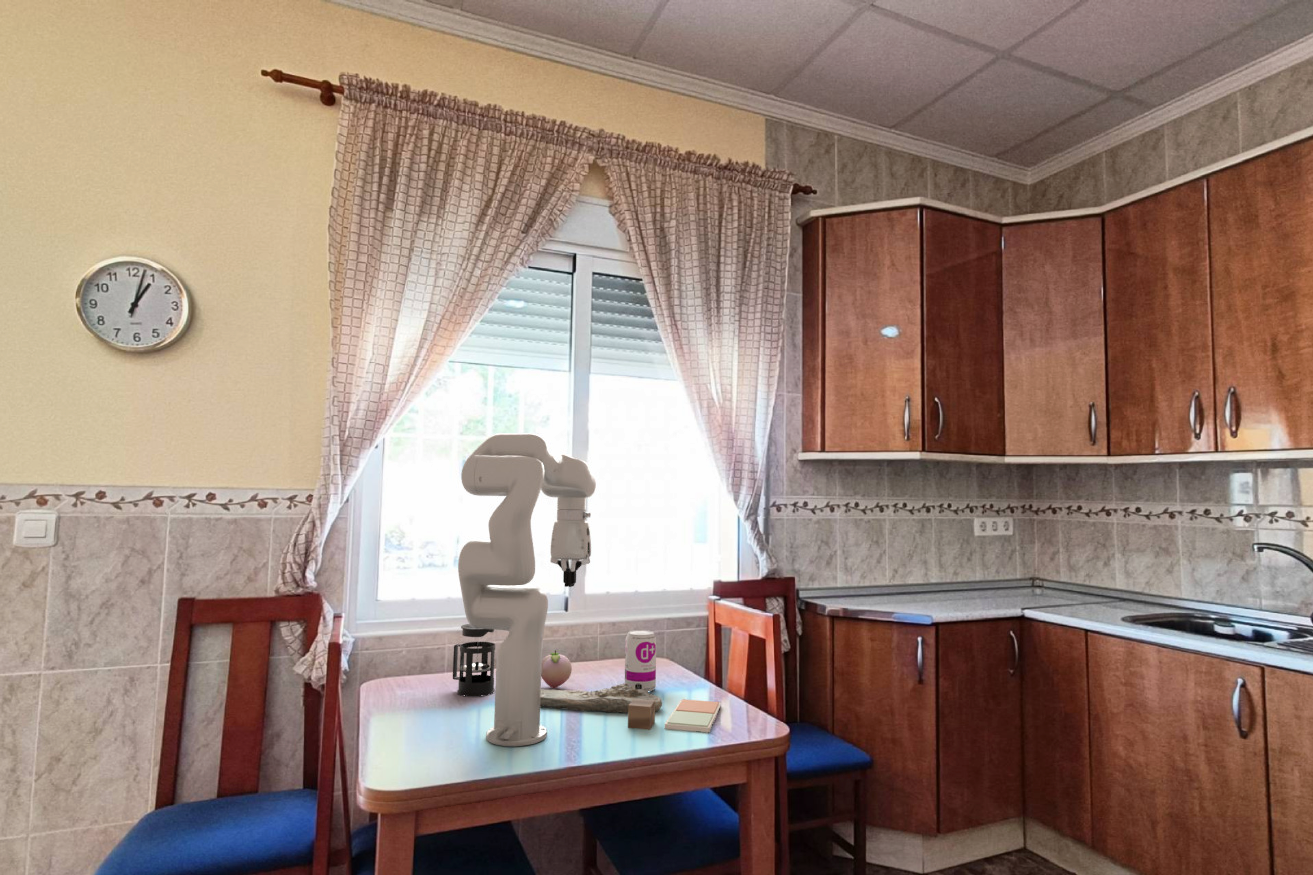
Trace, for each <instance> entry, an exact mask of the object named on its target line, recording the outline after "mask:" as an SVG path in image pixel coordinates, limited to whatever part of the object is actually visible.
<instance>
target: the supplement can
mask: <svg viewBox="0 0 1313 875" xmlns="http://www.w3.org/2000/svg"><path fill="white" fill-rule="evenodd" d="M624 644H625V647H624V648H625V650H624V651H625V653H624V654H625V655H624V656H625V657H624V660H625V661H624V663H625V664H624V684H626V683H627V685H628V687H635V688H636V689H637V690H639V689H641V690H645V691H646V692H648V691H652V690H653V691H654V690H655V689H656V688H657V686H656V683H657V682H656V681H657V680H656V677H657V675H656V674H657V637H656V635H655V632H654V631H651V630H648V629H647V630H644V629H643V630H642V629H638V630H637V629H636V630H631V631H628V632H627V635H626V637H625V643H624ZM653 691H652V692H653Z"/></svg>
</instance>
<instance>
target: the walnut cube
mask: <svg viewBox="0 0 1313 875" xmlns="http://www.w3.org/2000/svg"><path fill="white" fill-rule="evenodd" d="M627 716H628V717H627V728H628V729H637V730H648V731H649V730H650V731H651V729H652V727H653V726H654V725H655V724H656V721H655V720H656V711H655V701H652V700H639V699H634V700H633V701H632V702H631V703H630V704H629V705H628V713H627Z"/></svg>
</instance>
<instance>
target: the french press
mask: <svg viewBox="0 0 1313 875" xmlns="http://www.w3.org/2000/svg"><path fill="white" fill-rule="evenodd" d="M460 629H462V633H461V634H462V636H463V637H469V638H477V641H470V642H469V641H468V642H463V643H457V644H454V645H453V660H452V665H453V666H452V680H455V681H456V680H458V689H457V691H456V692H457V694H458V693H459V694H460V695H459V694H458V695H459V696H461V695H465V696H464V697H466V696H479V697H482V696H481V695H486V696H489V695H488V694H490V695H492V694H493V692H494V693H495V686H494V685H495V672H494V671H495V651H496V643H494V642H492V641H491V642H490V641H480V638H481V637H484V636H486V635H487V634H488V633H494V631H495V629H480V628H475V627H473V626H471V625H470V624H469V623H465V624H463V625H460ZM459 651H460V655H459V654H458V653H459ZM489 653H490V663H488V662H489ZM465 654H466V655H465ZM474 654H475V655H476V661H475V663H474V659H473V658H474ZM479 654H481V660H480V661H481V662H479ZM458 656H460V658H459V659H460V660H459V676H458ZM465 656H466V658H465ZM465 659H466V660H465ZM488 672H489V673H490V674H489V675H488ZM464 673H465V676H464ZM476 673H477V674H476ZM478 673H480V674H478ZM491 693H492V694H491Z"/></svg>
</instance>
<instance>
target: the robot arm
mask: <svg viewBox="0 0 1313 875" xmlns="http://www.w3.org/2000/svg"><path fill="white" fill-rule="evenodd" d="M460 475H461V484H462V487H463V489H464V490H465V491H466V492H467V493H469V494H471V495H473V496H479V497H482V496H483V497H504V498H503V500H502V501H501V502H500V504H498V506H497V507H496V508H495V510H494V511H493V512H492V514H491V516H490V517H489V521H488V532H489V539H488V538H487V539H483V538H482V539H478V538H477V539H473V540H470V541H468V542H466V543H465V545H464V546H462V548H461V549H460V553H459V558H458V563H457V564H458V565H457V568H458V569H457V571H458V579H459V585H460V590H461V591H460V592H461V597H462V602H463V610H464V613H465V617H466V619H467V622H468V624H470V625H471V626H473V627H475V628H480V629H494V631H495V630H497V631H498V630H499V631H500V630H501V631H508V632H509V633H508V634H507V636H506V637H505V639H503V641H502V642H501V644H500V645H499V647H498V648H497V652H496V657H495V659H496V662H495V663H496V664H495V665H496V666H495V686H494V690H495V691H494V693H495V694H494V718H493V726H492V727H491V728H489V729H488V730H487V731H486V734H485V737H486V740H487V742H488V743H490V744H493V745H497V746H501V747H502V746H503V747H523V746H524V747H525V746H529V745H530V746H531V745H533V744H534V745H535V744H537V743H539V742H542V741H544V739H546V738H547V735H548V730H547V728H546V727H545V726H543V725H541V724H540V723H541V706H540V699H541V689H542V677H541V668H542V660H543V641H544V631H545V630H544V629H545V626H546V620H547V616H548V608H549V599H548V597H547V593H546V592H545V591H544V590H543V589H541V588H540V587H537V586H534V585H533V586H532V585H527V584H529V583H531V581H533V579H534V576H535V574H536V573H535V572H536V559H535V558H536V557H535V551H534V549H535V548H534V542H533V535H532V534H533V533H532V525H531V524H532V522H531V521H532V515H533V512H534V508H535V507H536V504H537V501H538V498H539V496H540V493H541V492H542V493H543V494H544V495H545V496H547V497H548V498H557V503H556V504H557V506H556V507H557V508H556V509H557V510H556V521H554V524H553V526H552V533H551V541H550V563H552V564H555V565H557V566H559V568H560V569H561V571H562V572H563V574H562V576H563V578H562V579H563V583H564V587H565V588H566V587H568V588H571V587H575V584H576V583H577V571H578V570H579V569H580V567H582V566H585V565H588V564H589V565H590V563H591V560H590V559H591V556H592V555H591V554H592V543H591V540H592V539H591V529H590V524H589V521H586V520H587V519H588V518H591V512H588V511H587V508H586V506H587V504H586V502H587V501H586V500H587V498H590V497H592V496H594V494H595V492H596V490H597V486H598V480H597V475H596V473H595V471H594V469H593V468H592V467H591V466H590V464H589V463H588V462H586V461H584V460H582V459H579V458H576V457H573V456H569V455H567V454H564V453H560V452H557V451H556V450H555V449H554V447H553V446H551V444H549V442H547V441H546V439H545V438H544V437H542V436H541V435H538V434H536V433H535V434H534V433H528V432H525V433H521V432H519V433H516V432H515V433H502V432H500V433H495V434H493V435H490V437H488V438H486V439H485V440H484V441H482V443H481V444H480V445H478V447H477V448H476V449H475V450H474V451H472V453H471V454H470V455H469V456H468V457H467V459H466V460H465V461H464V465H463V466H462V469H461V474H460ZM570 560H571V564H570Z"/></svg>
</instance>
